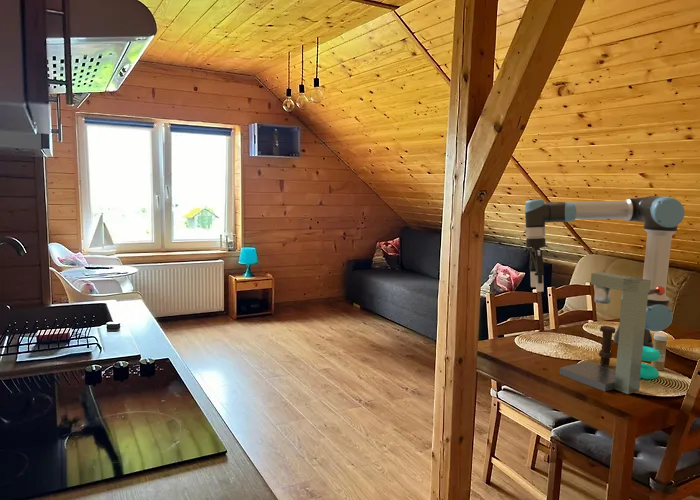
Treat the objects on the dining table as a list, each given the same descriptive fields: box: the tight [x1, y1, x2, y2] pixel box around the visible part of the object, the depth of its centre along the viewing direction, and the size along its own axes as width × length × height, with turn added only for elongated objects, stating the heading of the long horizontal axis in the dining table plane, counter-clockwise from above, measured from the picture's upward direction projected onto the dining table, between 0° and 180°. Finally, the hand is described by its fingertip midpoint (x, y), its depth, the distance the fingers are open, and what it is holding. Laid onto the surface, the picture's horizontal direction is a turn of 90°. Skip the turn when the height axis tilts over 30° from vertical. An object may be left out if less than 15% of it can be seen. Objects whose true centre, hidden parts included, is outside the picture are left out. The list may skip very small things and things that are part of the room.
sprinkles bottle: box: [650, 332, 669, 371], centre depth 199 cm, size 5×5×13 cm
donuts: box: [640, 346, 661, 380], centre depth 192 cm, size 10×10×10 cm
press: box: [559, 271, 665, 395], centre depth 186 cm, size 24×24×38 cm
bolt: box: [598, 325, 617, 367], centre depth 201 cm, size 6×5×15 cm
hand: (537, 289), depth 217 cm, fingers open, 13 cm apart
